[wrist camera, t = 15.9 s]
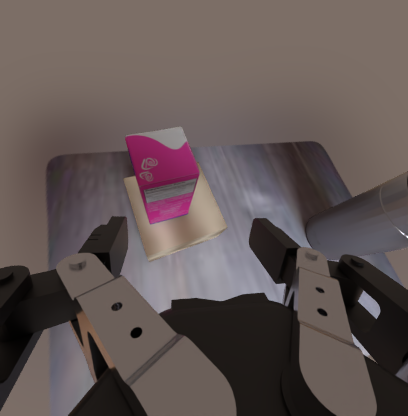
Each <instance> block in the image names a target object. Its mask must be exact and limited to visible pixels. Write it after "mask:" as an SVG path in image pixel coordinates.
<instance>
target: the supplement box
mask: <svg viewBox="0 0 408 416" xmlns="http://www.w3.org/2000/svg"><path fill="white" fill-rule="evenodd" d="M125 140H126V143H127V147H128V151H129V155H130V159H131V163H132V166H133V170H134V173H135V176H136V180H137V183H138V187H139V190H140V193H141V197H142V200H143V203H144V207H145V210H146V213H147V217H148V220H149V223H150V224H154V223H158V222H162V221H165V220H169V219H173V218H176V217H180V216H183V215H187V214H188V212H189V208H190V205H191V201H192V198H193V195H194V191H195V188H196V185H197V181H198V178H199V175H200V171H199V169H198V166H197V163H196V161H195V158H194V156H193V153H192V151H191V148H190V146H189V143H188V141H187V138H186V136H185V134H184V131H183V129H182V127H175V128H169V129H163V130H157V131H151V132H143V133H137V134H128V135H125Z"/></svg>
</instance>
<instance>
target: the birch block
mask: <svg viewBox="0 0 408 416" xmlns="http://www.w3.org/2000/svg"><path fill="white" fill-rule="evenodd" d="M196 163H197V166H198V169H199V171H200V175H199V178H198V181H197V185H196V188H195V191H194V195H193V198H192V201H191V205H190V208H189V212H188V214H187V215H183V216H180V217H176V218H173V219H169V220H165V221H162V222H158V223H154V224H150V223H149V220H148V217H147V213H146V210H145V207H144V203H143V200H142V197H141V193H140V190H139V187H138V183H137V180H136V176H132V177H128V178H123V179H124V182H125V186H126V189H127V192H128V196H129V199H130V202H131V206H132V209H133V212H134V216H135V219H136V222H137V225H138V229H139V232H140V235H141V239H142V242H143V245H144V249H145V252H146V255H147V258H148V260H149V262H151V261H153V260H156V259H159V258H162V257H164V256H167V255H170V254H172V253H175V252H178V251H180V250H183V249H186V248H188V247H191V246H194V245H197V244H199V243H202V242H205V241H207V240H210V239H213V238H215V237H218V236H219V235H220V234H221V233H222V232H223V231H224V230H225V229H226V228H227V225H226V223H225V221H224V218H223V216H222V214H221V212H220V209H219V207H218V205H217V203H216V201H215V198H214V196H213V194H212V192H211V189H210V187H209V185H208V183H207V181H206V178H205V176H204V174H203V172H202V169H201V167H200V165H199V163H198V162H196Z"/></svg>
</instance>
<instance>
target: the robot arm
mask: <svg viewBox="0 0 408 416" xmlns="http://www.w3.org/2000/svg"><path fill="white" fill-rule="evenodd" d="M306 233H307V238H308V240H309V243H310V244H311V246H312V247H313V249H311V248H307V247H300V246H299V245H298V244H297V243H296V242H295V241H294V240H292V239H291V238H290V237H289V236H288V235H287V234H286V233H284V232H283V231H282V230H281V229H279V228H278V227H276V226H274V225H273V224H272V223H271V222H270V221H269V220H268V219H266V218H255V219H254V220H253V223H252V228H251V232H250V237H249V245H250V248H251V249H252V251H253V252H254V254H255V255H256V257H257V258H258V259H259V261H260V262H261V264H262V265H263V266H264V268H265V269H266V271H267V272H268V274H269V275H270V276H271V278H272V279H273V281H274V282H275V283H276V284H282V283H285V284H286V286H285V289H284V295H283V302H282V304H281V303H278V302H274V301H270V300H268V298H267V297H266V295H265V293H254V294H243V295H240V296H237V297H234V298H231V299H228V300H225V301H214V300H207V299H199V298H190V299H178V300H172V303H171V309H168V310H165V311H163V312H161V313H159V314H158V313H157V312H156V311H155V310H154V309H153V308H152V307H151V306H150V304H149V303H148V302H147V301H146V300H145V299H144V298H143V297H142V296H141V295H140V294H139V292H138V291H137V290H136V289H135V288H134V287H133V286H132V285H131V284H130V283H129V282H128V280H127V279H126V278H125V277H124V276H122V275H120V272H121V269H122V266H123V263H124V259H125V256H126V253H127V249H128V229H127V218H126V217H114V216H112V217H111V219H110V221H109V222H108V224H107V225H100V226H99V227H97V228H96V229H94V231H93V232H92V233H91V236H89V238H88V240H87V241H86V242H85V243H84V245H83V246H82V248H81V249H80V251H79V252H78V254H74V255H71V256H68V257H66V258H65V259H63V260H62V261H60V262H59V263H58V265H57V267H56V269H54V270H51V271H47V272H42V273H38V274H33V275H30V272H29V269H28V268H27V267H25V266H10V267H4V268H1V269H0V411H1V409H2V407H3V405H4V403H5V401H6V400H7V398H8V396H9V394H10V392H11V390H12V388H13V386H14V385H15V383H16V381H17V379H18V377H19V375H20V373H21V371H22V370H23V368H24V366H25V364H26V362H27V360H28V358H29V356H30V354H31V353H32V350H33V348H34V347H35V345H36V343H37V341H38V339H39V338H40V336H41V334H42V332H43V330H44V329H47V328H50V327H53V326H56V325H59V324H62V323H65V322H68V321H69V324H70V326H71V328H72V330H73V332H74V334H75V337H76V339H77V341H78V343H79V345H80V347H81V349H82V351H83V354H84V356H85V358H86V361H87V364H88V367H89V370H90V373H91V376H92V378H93V380H94V383H95V384H94V385H93V386H92V388H91V389H90V390H89V391H88V392H87V393H86V395H85V396H84V397H83V398H82V399H81V401H80V402H79V403H78V404H77V405H76V407H75V408H74V409H73V410H72V411H71V412H70V414H69V415H68V416H408V290H407V289H406V288H404V287H403V286H401V285H400V284H399V283H397V282H396V281H394V280H393V279H391V278H390V277H389V276H387V275H386V274H384V273H383V272H381V271H380V270H379V269H377V268H376V267H374V266H373V265H371V264H370V263H369V262H367V261H365V260H364V259H362V258H359V257H358V256H364V255H370V254H376V253H383V252H388V251H395V250H401V249H407V248H408V171H407V172H405V173H403V174H401V175H399V176H397V177H395V178H393V179H391V180H389V181H387V182H385V183H382V184H380V185H378V186H376V187H374V188H372V189H370V190H368V191H366V192H363V193H361V194H359V195H357V196H355V197H353V198H351V199H349V200H347V201H345V202H342V203H340V204H338V205H336V206H334V207H332V208H330V209H328V210H325V211H323V212H321V213H319V214H317V215H315V216H313V217H312V218H311V219H310V220H309V221H308V223H307V227H306ZM327 259H329V260H339V259H340V260H339V262H335V261H329V260H327ZM363 290H364V291H365V292H366V293H367V294H368V295H370V296H371V297H372V298H373V299H374V300H375V301H376V302H377V303H378V304H379V306H380V310H381V312H380V315H379V316H378V318H377V319H376V318H375V317H374V316H372V315H371V314H370V313H369V312H368V311H367V310H366V309H365V308H364V307H363V306H362V305H361V304H360V303H359V302H358V300H359V298H360V296H361V294H362V292H363ZM351 333H352V334H353V335H354V336H355V337H356V339H357V340H358V341H359V342H360V343H361V344H362V346H363V347H364V348H365V349H366V350H367V352H368V353H369V354H370V355H371V356H372V357H373V359H374V360H375V361H376V362H377V363H378V364H377V363H376V362H374V361H373V360H371V359H370V358H368V357H366V356H365V355H363V353H362V351H361V349H360V348H359V347H357V346H356V345H355V344H354V342H353V338H352V334H351Z"/></svg>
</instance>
